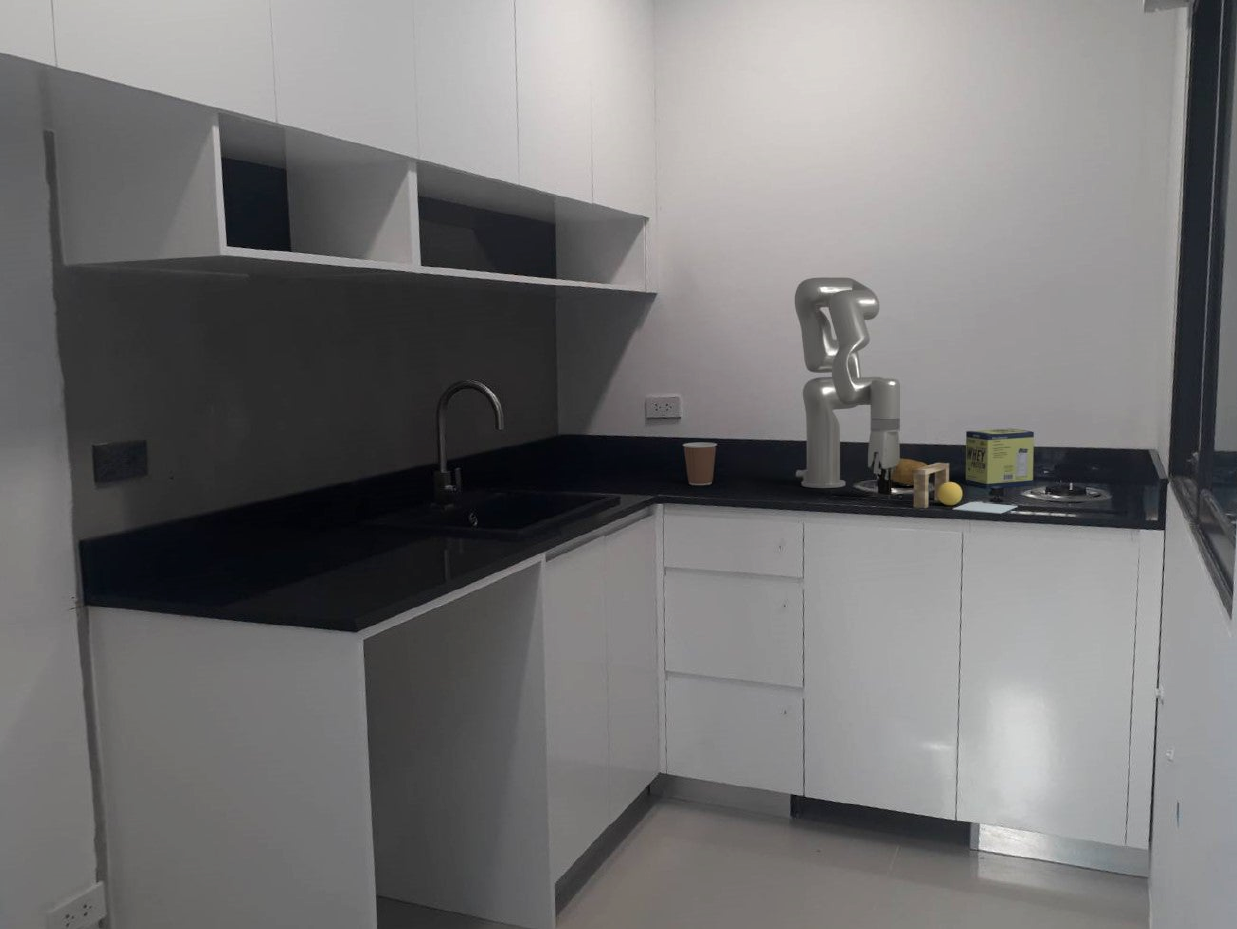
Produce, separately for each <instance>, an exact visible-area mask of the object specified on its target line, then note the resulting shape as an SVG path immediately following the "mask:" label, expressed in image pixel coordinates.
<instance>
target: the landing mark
mask: <svg viewBox="0 0 1237 929" xmlns="http://www.w3.org/2000/svg"><path fill="white" fill-rule="evenodd" d="M1015 508H1018V505H1012V504H1011V505H1010V504H1008V505H1007V504H999V503H985V502H977V501H974V502H973V501H970V502H967V503H964V504H961V505H958V506H957V507H953V508H952V509H951V510H954V511H955V510H956V511H962V512H963V511H964V512H974V513H975V512H976V513H984V514H985V513H987V514H999V515H1001V514H1003V513H1006V512H1008V511H1011V510H1013V509H1015Z"/></svg>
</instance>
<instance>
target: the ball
mask: <svg viewBox="0 0 1237 929" xmlns="http://www.w3.org/2000/svg"><path fill="white" fill-rule="evenodd" d="M938 498H939V500H938V501H940V503H942V504H944V505H946V506H954V505H957V504H958V503H959V502H961V500H962V498H963V490H962V487H961V486H960V485H959V484H958V483H956V482H952V481H949V482H946V483H944V484H942V485H941V486H940V488H939V489H938Z"/></svg>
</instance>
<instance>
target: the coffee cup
mask: <svg viewBox="0 0 1237 929" xmlns="http://www.w3.org/2000/svg"><path fill="white" fill-rule="evenodd" d="M682 446H683V447H684V448H683V451H684V457H685V458H684V459H685V465H686V474H687V480H688V483H689V484H690V485H692V486H707V485H711V484H712V482H713V480H714V479H713V478H714V469H715V461H716V460H715V458H716V450H717V448H716V446H718V444H717V443H715V442H688V443H683V444H682Z"/></svg>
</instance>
